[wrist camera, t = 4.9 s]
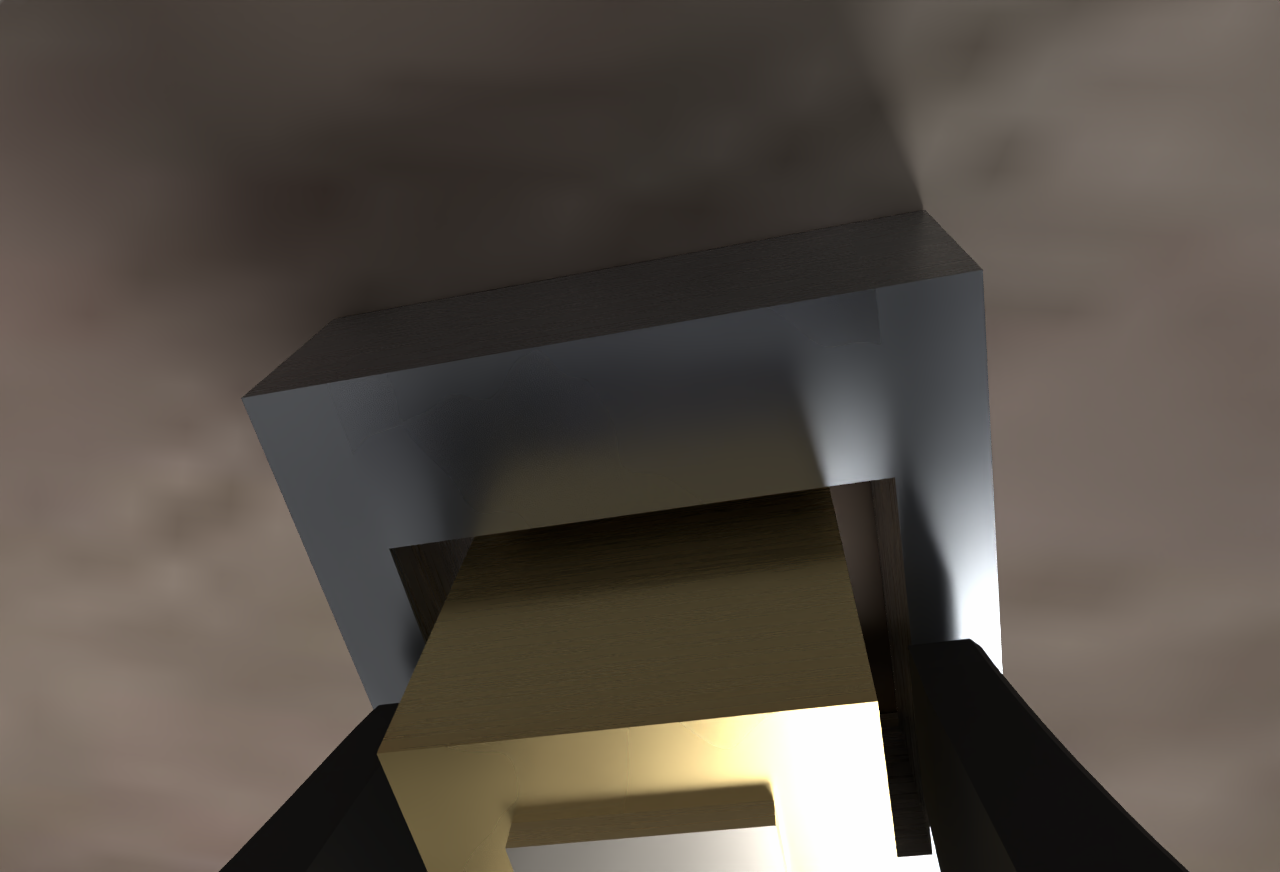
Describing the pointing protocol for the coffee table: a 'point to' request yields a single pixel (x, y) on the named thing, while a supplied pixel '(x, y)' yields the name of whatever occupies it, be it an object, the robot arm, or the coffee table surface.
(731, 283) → the grey slotted tray
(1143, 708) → the coffee table surface
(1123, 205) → the coffee table surface
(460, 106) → the coffee table surface
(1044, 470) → the coffee table surface
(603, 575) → the gold square block
